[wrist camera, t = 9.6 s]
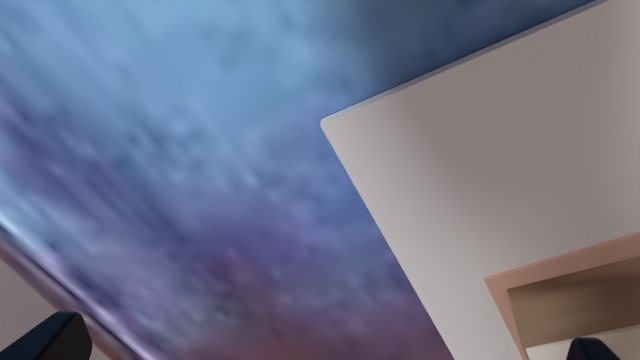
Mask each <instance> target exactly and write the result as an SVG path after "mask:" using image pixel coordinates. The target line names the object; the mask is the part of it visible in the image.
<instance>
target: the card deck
mask: <svg viewBox="0 0 640 360" xmlns="http://www.w3.org/2000/svg"><path fill="white" fill-rule="evenodd" d="M507 292H508V296H509V300H510V303H511V307H512V311H513V315H514V319H515V323H516V327H517V331H518V334H519V338H520V342H521V345H522V348H523V350H524V353H525V355H526V358H527V360H566V357H567V354H568V351H569V348H570V344H571V342H572V340H573V339H574V338H575V337H594V338H598V339H600V340H602V341H603V342H604V343H605V344H606V345H607V346H608V347H609V348H610V349H611V350H612V351H613V352H614V353H615V354H616V355H617V356H618V357H619V358H620V359H621V360H640V256H638V257H634V258H630V259H626V260H622V261H618V262H614V263H610V264H606V265H602V266H598V267H594V268H590V269H586V270H582V271H578V272H573V273H569V274H565V275H561V276H557V277H553V278H549V279H545V280H541V281H537V282H533V283H529V284H525V285H521V286H517V287H513V288H509V289H507Z"/></svg>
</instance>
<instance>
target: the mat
mask: <svg viewBox="0 0 640 360" xmlns="http://www.w3.org/2000/svg"><path fill="white" fill-rule="evenodd" d="M320 126H321V128H322V130H323V131H324V133H325V135H326V137H327V138H328V140H329V142H330V144H331V145H332V147H333V149H334V150H335V152H336V154H337V156H338V157H339V159H340V161H341V163H342V164H343V166H344V168H345V170H346V171H347V173H348V175H349V177H350V178H351V180H352V182H353V183H354V185H355V187H356V189H357V190H358V192H359V194H360V196H361V197H362V199H363V201H364V203H365V204H366V206H367V208H368V210H369V211H370V213H371V215H372V216H373V218H374V220H375V222H376V223H377V225H378V227H379V229H380V230H381V232H382V234H383V236H384V237H385V239H386V241H387V243H388V244H389V246H390V248H391V249H392V251H393V253H394V255H395V256H396V258H397V260H398V262H399V263H400V265H401V267H402V269H403V270H404V272H405V274H406V276H407V277H408V279H409V281H410V282H411V284H412V286H413V288H414V289H415V291H416V293H417V295H418V296H419V298H420V300H421V302H422V303H423V305H424V307H425V309H426V310H427V312H428V314H429V315H430V317H431V319H432V321H433V322H434V324H435V326H436V328H437V329H438V331H439V333H440V335H441V336H442V338H443V340H444V342H445V343H446V345H447V347H448V348H449V350H450V352H451V354H452V355H453V357H454V359H455V360H527V358H526V355H525V353H524V350H523V348H522V345H521V342H520V338H519V334H518V331H517V327H516V323H515V319H514V315H513V311H512V307H511V303H510V300H509V296H508V292H507V289H509V288H513V287H517V286H521V285H525V284H529V283H533V282H537V281H541V280H545V279H549V278H553V277H557V276H561V275H565V274H569V273H573V272H578V271H582V270H586V269H590V268H594V267H598V266H602V265H606V264H610V263H614V262H618V261H622V260H626V259H630V258H634V257H638V256H640V0H594V1H592V2H590V3H587V4H585V5H583V6H581V7H578V8H576V9H574V10H571V11H569V12H567V13H564V14H562V15H560V16H557V17H555V18H553V19H551V20H548V21H546V22H544V23H541V24H539V25H537V26H534V27H532V28H530V29H528V30H525V31H523V32H521V33H518V34H516V35H514V36H511V37H509V38H507V39H505V40H502V41H500V42H498V43H495V44H493V45H491V46H488V47H486V48H484V49H482V50H479V51H477V52H475V53H472V54H470V55H468V56H465V57H463V58H461V59H459V60H456V61H454V62H452V63H449V64H447V65H445V66H442V67H440V68H438V69H436V70H433V71H431V72H429V73H426V74H424V75H422V76H419V77H417V78H415V79H413V80H410V81H408V82H406V83H403V84H401V85H399V86H396V87H394V88H392V89H390V90H387V91H385V92H383V93H380V94H378V95H376V96H373V97H371V98H369V99H367V100H364V101H362V102H360V103H357V104H355V105H353V106H350V107H348V108H346V109H343V110H341V111H339V112H337V113H334V114H332V115H330V116H327V117H325V118H323V119H321V123H320Z"/></svg>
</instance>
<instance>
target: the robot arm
mask: <svg viewBox="0 0 640 360" xmlns="http://www.w3.org/2000/svg"><path fill="white" fill-rule="evenodd" d="M91 351H92V340H91V337H90V335H89V332H88V330H87V327H86V325H85V322H84V320H83V317H82V315H81V314H79V313H78V312H70V311H59V312H56V313H54V314H53V315H51V316H50V317H48V318H47V319H45V320H44V321H43V322H41V323H40V324H38V325H37V326H36V327H34V328H33V329H32V330H30V331H29V332H27V333H26V334H25V335H23V336H22V337H20V338H19V339H18V340H16V341H15V342H14V343H12V344H11V345H9V346H8V347H6V348H5V349H4V350H2V351H1V352H0V360H89V358H90V355H91ZM566 360H621V359H620V358H619V357H618V356H617V355H616V354H615V353H614V352H613V351H612V350H611V349H610V348H609V347H608V346H607V345H606V344H605V343H604V342H603V341H602V340H600V339H598V338H594V337H575V338H574V339H573V340H572V342H571V344H570V348H569V351H568V354H567V357H566Z"/></svg>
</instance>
